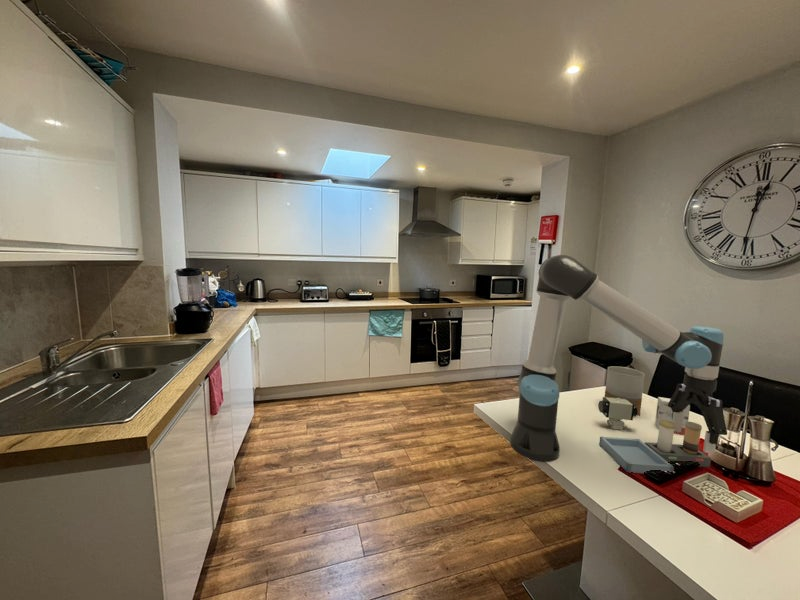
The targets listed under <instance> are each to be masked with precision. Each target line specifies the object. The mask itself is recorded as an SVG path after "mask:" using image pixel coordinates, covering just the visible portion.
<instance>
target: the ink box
mask: <svg viewBox="0 0 800 600" xmlns="http://www.w3.org/2000/svg"><path fill="white" fill-rule="evenodd" d="M670 399H671V398H668V397H661V396H657V403H656V413H655V419H654V420H655V421H654V425H655V427H656V429H657V430H658V431H659V426H660V424H659V423H660V420H667V421H670V422H672V412H673V411H672V409H671V408H670V407H668V403H669V401H670ZM673 404H674V403H673ZM690 410H691V405H688V406H687V407H686V408H685V409H684V410H683V412H680V413H683V421H682V429H681V432H676V431H674V434H677V435H678V434H679V435H683V436H684V434H685V427H686V426H685V424H686V422H689V417H690Z"/></svg>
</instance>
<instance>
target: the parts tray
mask: <svg viewBox="0 0 800 600" xmlns="http://www.w3.org/2000/svg"><path fill="white" fill-rule="evenodd" d="M598 444H599V446H600V447H602V448H603V450H604V451H605V452H606V453H607V454H609V456H610V457H611V458H613V459H614V461H615V462H616V463H617V464H618V465H620V467H621V468H622V469H624V471H626V473H631V472H633V473H634V474H644V472H646V471H650V470H661V471H669V472H673V473H674V470H675V466H673V464H670V463H668V462H667V461H666V460H665V459H663V458H662V457H661V456H660V455H658V454H657V453H656V452H655V451H653V450H652V449H651V448H650V447H648V446H647V445H646V444H645V442H644V441H642V440H641V439H640V438H639V439H638V438H624V437H614V436H613V437H610V436H599V441H598ZM633 473H632V474H633Z"/></svg>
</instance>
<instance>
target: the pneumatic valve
mask: <svg viewBox="0 0 800 600" xmlns="http://www.w3.org/2000/svg"><path fill="white" fill-rule="evenodd" d="M597 404H598V411H599V412H600V413H602V414H603V416H605V418H608V419H607V420H606V425H607V426H608V427H610V429H612V430H617V431H622V430H624V429H625V425H626V424H625V422H624V421H623V420H626V421H634V417H637V416H638V415H637V413H638V410H637V407H636V405H634V404H633V403H632V402H630V401H629V400H626V399H620V398H607V397H605V396H603V397H602V399H601V400H599V401H598V403H597Z"/></svg>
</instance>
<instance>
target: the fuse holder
mask: <svg viewBox="0 0 800 600" xmlns="http://www.w3.org/2000/svg"><path fill="white" fill-rule="evenodd" d="M644 443H645V444H646V445H647V446H648V447H650V448H651V449H652V450H653V451H655V452H656V453H657V454H658V455H660V456H661V457H662V458H663V459H665V460H666V461H667V462H670V461H693V462H698V463H699V464H700V466H699V467H701V468H702V467H704V468H710V467H711V461H712V457H710V456H708V455H707V454H706V453H705V452H703V451H701V450H700V449H698V453H697V455H692V454H687V453H686V452H684V451H683V450H682V448H683V444H676V443H672V448H671V453H664V452H661V451H660V450H658V449H657V442H647V441H645V442H644Z"/></svg>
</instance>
